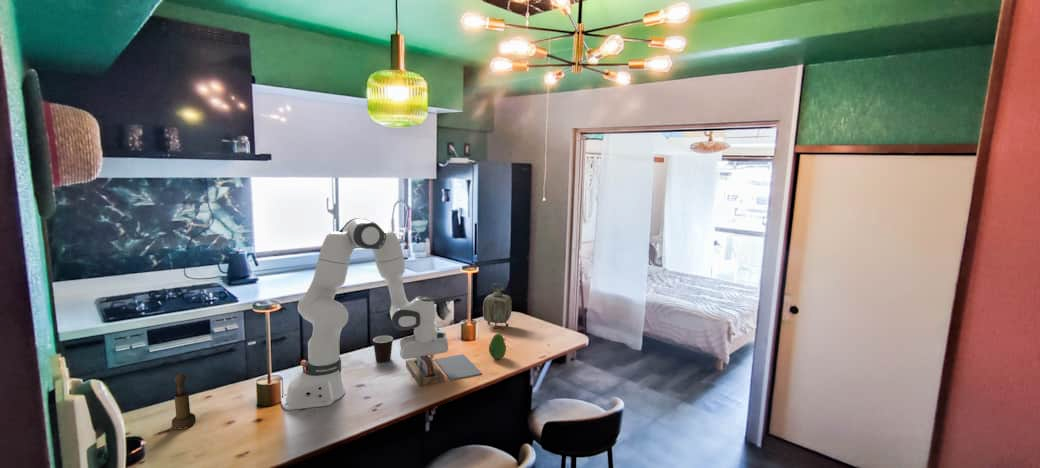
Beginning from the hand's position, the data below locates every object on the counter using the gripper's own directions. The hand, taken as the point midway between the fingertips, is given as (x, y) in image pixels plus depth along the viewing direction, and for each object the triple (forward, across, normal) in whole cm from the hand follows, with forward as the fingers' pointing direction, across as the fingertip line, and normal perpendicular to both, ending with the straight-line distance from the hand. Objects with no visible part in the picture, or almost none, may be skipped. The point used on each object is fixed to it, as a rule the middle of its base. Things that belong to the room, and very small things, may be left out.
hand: (424, 364), depth 205 cm
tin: (+4, 0, 0) cm, 4 cm away
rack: (+4, 0, 0) cm, 4 cm away
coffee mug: (+4, -12, +22) cm, 25 cm away
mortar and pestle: (+4, -85, -4) cm, 85 cm away
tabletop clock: (+4, +53, +39) cm, 65 cm away
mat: (+4, +15, 0) cm, 15 cm away
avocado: (+4, +35, +1) cm, 35 cm away
